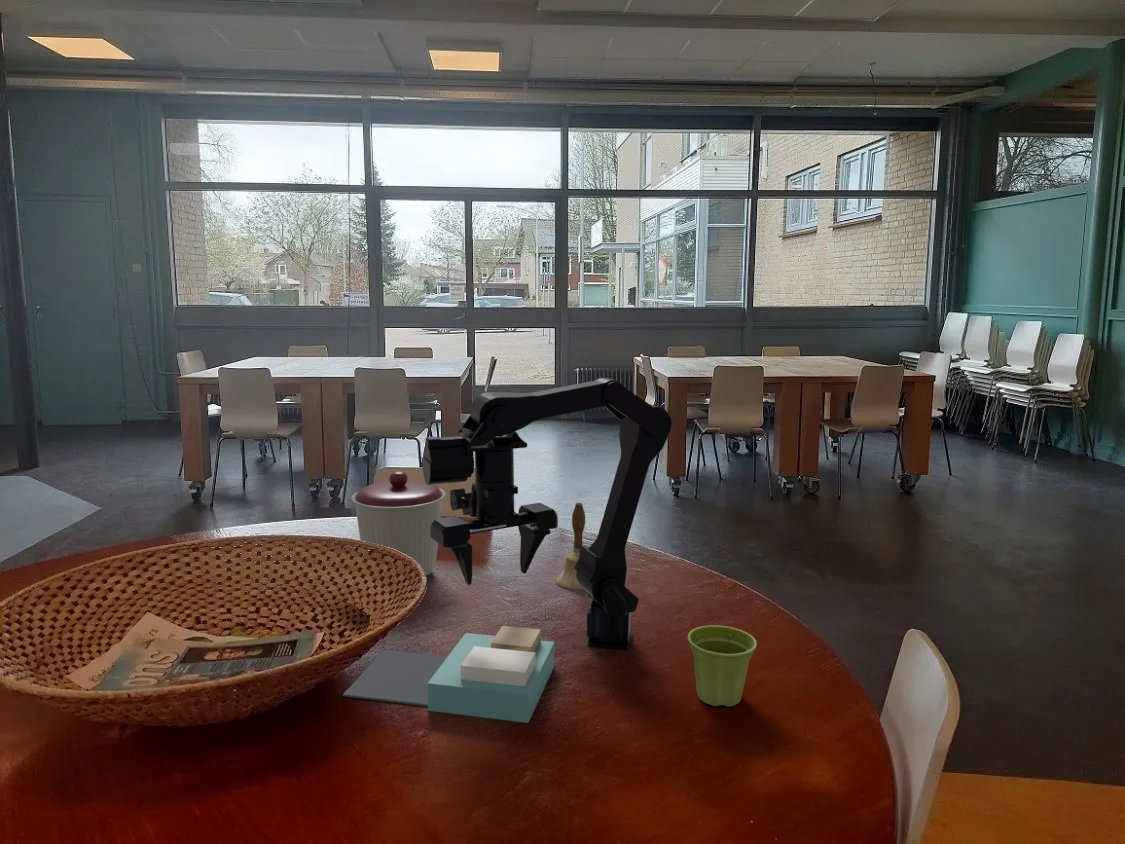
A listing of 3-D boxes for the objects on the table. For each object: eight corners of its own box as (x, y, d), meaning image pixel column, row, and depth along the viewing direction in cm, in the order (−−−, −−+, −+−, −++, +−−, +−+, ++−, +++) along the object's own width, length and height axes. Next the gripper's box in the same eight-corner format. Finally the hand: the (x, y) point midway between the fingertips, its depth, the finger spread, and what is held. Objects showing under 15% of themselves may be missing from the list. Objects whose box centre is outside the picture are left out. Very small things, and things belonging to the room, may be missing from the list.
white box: (535, 665, 110) (535, 652, 110) (524, 686, 105) (524, 672, 104) (474, 659, 112) (474, 646, 112) (460, 679, 106) (460, 665, 106)
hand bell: (606, 580, 154) (607, 501, 152) (584, 593, 147) (585, 511, 145) (570, 571, 159) (571, 495, 156) (547, 584, 152) (548, 504, 149)
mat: (463, 660, 120) (463, 658, 120) (430, 706, 107) (430, 704, 107) (385, 651, 123) (385, 649, 123) (342, 696, 110) (342, 694, 109)
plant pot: (710, 673, 117) (713, 619, 116) (766, 697, 110) (769, 639, 109) (672, 696, 110) (674, 638, 109) (728, 722, 104) (731, 661, 102)
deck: (554, 666, 119) (554, 641, 118) (528, 722, 103) (528, 694, 103) (466, 657, 121) (465, 633, 121) (428, 710, 106) (427, 683, 105)
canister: (335, 584, 151) (330, 477, 147) (387, 555, 168) (384, 458, 164) (417, 597, 145) (414, 486, 141) (462, 565, 161) (461, 466, 158)
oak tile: (540, 642, 118) (540, 629, 118) (531, 660, 112) (531, 647, 112) (502, 638, 119) (502, 625, 119) (490, 655, 113) (490, 643, 113)
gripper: (525, 460, 128) (526, 552, 130) (415, 474, 118) (419, 573, 121) (559, 474, 118) (559, 573, 121) (443, 491, 109) (446, 597, 112)
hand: (496, 578), depth 119 cm, fingers open, 9 cm apart
